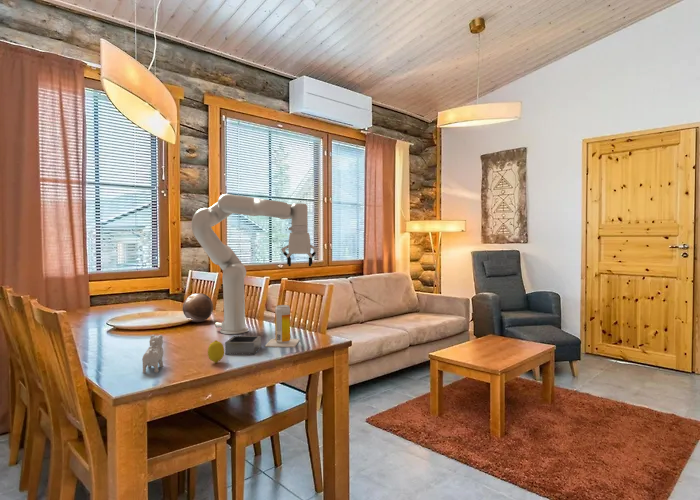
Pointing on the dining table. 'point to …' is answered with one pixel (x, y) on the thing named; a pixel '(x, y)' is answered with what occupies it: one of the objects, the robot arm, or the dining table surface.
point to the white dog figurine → (153, 354)
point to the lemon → (216, 351)
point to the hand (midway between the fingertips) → (299, 266)
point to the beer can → (282, 324)
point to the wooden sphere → (198, 307)
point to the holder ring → (243, 345)
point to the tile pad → (274, 344)
